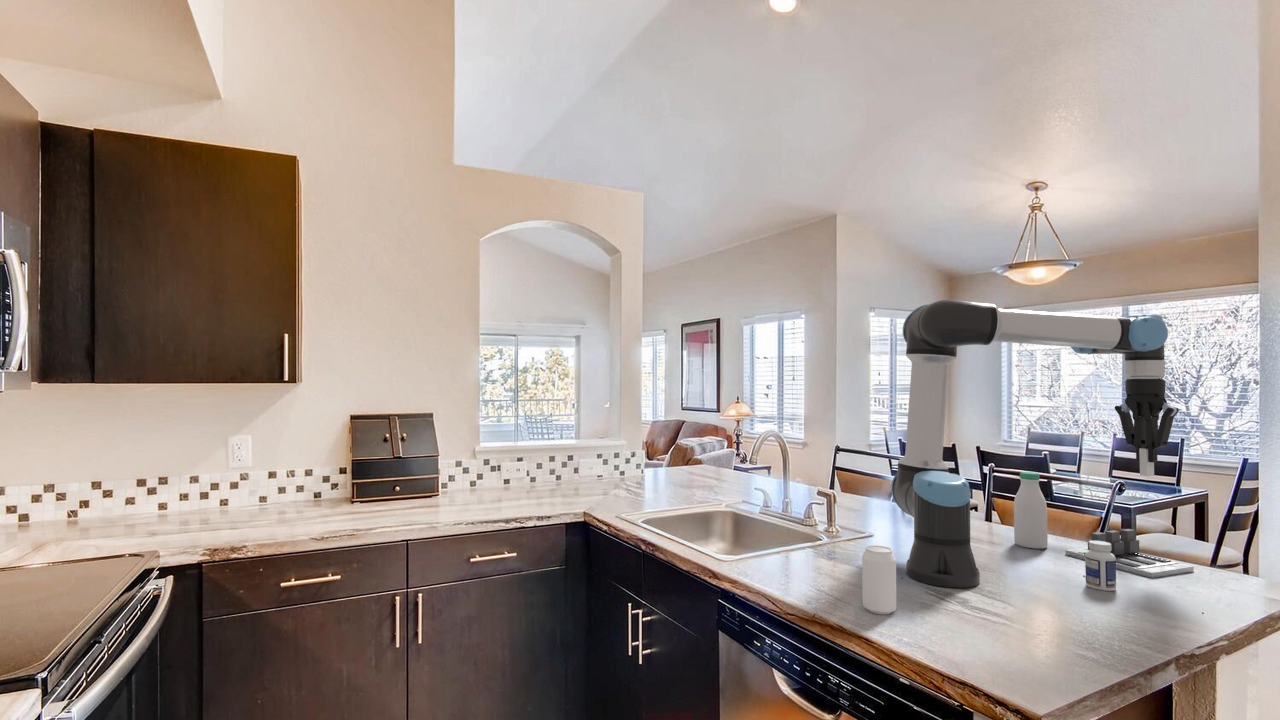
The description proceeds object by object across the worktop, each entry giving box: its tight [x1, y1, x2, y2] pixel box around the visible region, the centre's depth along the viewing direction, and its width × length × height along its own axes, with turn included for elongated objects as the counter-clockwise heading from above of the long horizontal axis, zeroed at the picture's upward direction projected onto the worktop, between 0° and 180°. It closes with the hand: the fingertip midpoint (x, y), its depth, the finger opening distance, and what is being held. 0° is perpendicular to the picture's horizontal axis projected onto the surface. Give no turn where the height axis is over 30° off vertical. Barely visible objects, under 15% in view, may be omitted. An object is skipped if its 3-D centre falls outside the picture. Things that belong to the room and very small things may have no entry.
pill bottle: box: [1084, 540, 1117, 592], centre depth 134 cm, size 5×5×10 cm
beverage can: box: [861, 544, 897, 616], centre depth 120 cm, size 6×6×12 cm
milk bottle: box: [1013, 471, 1049, 550], centre depth 168 cm, size 8×8×20 cm
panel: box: [1065, 546, 1194, 579], centre depth 152 cm, size 15×20×2 cm
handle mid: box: [1104, 529, 1124, 555], centre depth 156 cm, size 4×3×5 cm
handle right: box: [1120, 528, 1141, 553], centre depth 157 cm, size 4×3×5 cm
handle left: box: [1087, 531, 1106, 550], centre depth 154 cm, size 4×3×5 cm
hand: (1147, 475), depth 149 cm, fingers closed
